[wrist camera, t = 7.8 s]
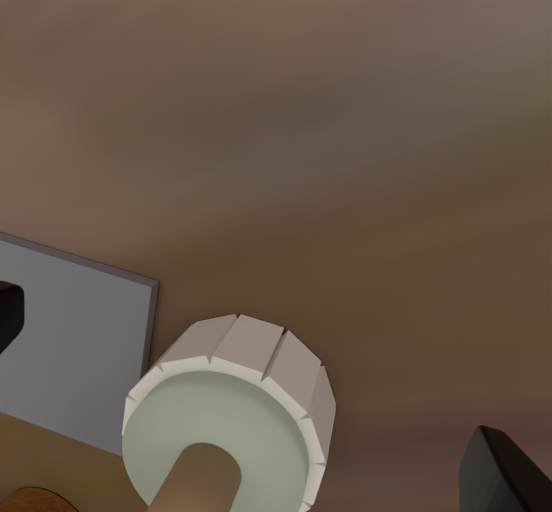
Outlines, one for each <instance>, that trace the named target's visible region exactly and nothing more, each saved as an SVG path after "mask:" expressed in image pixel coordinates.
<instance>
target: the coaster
mask: <svg viewBox="0 0 552 512" xmlns="http://www.w3.org/2000/svg"><path fill="white" fill-rule="evenodd" d="M0 281H6V282H10V283H13V284H16V285H19V286H21V287H22V288H23V290H24V296H25V323H24V327H23V329H22V331H21V332H20V334H19V335H18V336H17V337H16V338H15V339H14V340H13V342H12V343H11V344H10V345H9V346H8V347H7V348H6V349H5V350H4V351H3V353H2V354H1V355H0V412H3V413H5V414H8V415H11V416H13V417H16V418H19V419H21V420H24V421H27V422H30V423H32V424H35V425H38V426H40V427H43V428H46V429H48V430H51V431H54V432H57V433H59V434H62V435H65V436H67V437H70V438H73V439H75V440H78V441H81V442H84V443H86V444H89V445H92V446H94V447H97V448H100V449H102V450H105V451H108V452H111V453H113V454H116V455H119V456H121V457H123V453H122V439H123V436H122V429H123V420H124V411H125V403H126V397H127V396H128V395H129V394H128V393H129V392H130V391H131V390H132V388H133V387H134V386H135V385H136V384H137V383H138V382H139V381H140V379H141V378H142V377H143V376H144V375H145V374H146V373H147V368H148V361H149V353H150V346H151V338H152V331H153V323H154V316H155V308H156V301H157V294H158V286H159V281H157V280H153V279H150V278H147V277H144V276H140V275H137V274H134V273H131V272H127V271H124V270H121V269H118V268H114V267H111V266H108V265H105V264H101V263H98V262H95V261H92V260H88V259H85V258H82V257H79V256H75V255H72V254H69V253H66V252H62V251H59V250H56V249H53V248H49V247H46V246H43V245H40V244H36V243H33V242H30V241H27V240H23V239H20V238H17V237H14V236H11V235H7V234H4V233H1V232H0Z"/></svg>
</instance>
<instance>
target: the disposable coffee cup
mask: <svg viewBox="0 0 552 512" xmlns="http://www.w3.org/2000/svg"><path fill="white" fill-rule="evenodd" d="M0 512H77V511H76V510H75V509H74V508H73V507H72V506H71V505H70V504H69V503H68V502H66V501H65V500H64V499H62V498H61V497H59V496H57V495H56V494H54V493H51V492H49V491H47V490H43V489H39V488H30V487H28V488H23V489H19V490H17V491H15V492H14V493H12V494H11V495H10V496H9V497H8V498H7V499H6V500H4V501H3V502H2V503H1V504H0Z"/></svg>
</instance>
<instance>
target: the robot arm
mask: <svg viewBox="0 0 552 512" xmlns="http://www.w3.org/2000/svg"><path fill="white" fill-rule="evenodd" d="M24 323H25V296H24V290H23V288H22V287H21V286H19V285H16V284H13V283H10V282H6V281H0V355H1V354H2V353H3V351H4V350H5V349H6V348H7V347H8V346H9V345H10V344H11V343H12V342H13V340H14V339H15V338H16V337H17V336H18V335H19V334H20V332H21V331H22V329H23V327H24ZM459 489H460V512H552V481H551V480H550V479H549V478H548V477H547V476H546V475H545V474H544V473H543V472H542V471H541V470H540V469H539V468H538V467H537V465H536V464H535V463H534V462H533V461H532V460H531V459H530V458H529V457H528V456H527V455H526V454H525V453H524V452H523V451H522V450H521V449H520V448H519V447H518V446H517V445H516V444H515V443H514V442H513V441H512V439H511V438H510V437H509V436H508V435H507V434H506V433H505V432H503V431H501V430H497V429H494V428H491V427H487V426H484V425H481V426H478V427H477V428H476V430H475V431H474V433H473V436H472V438H471V440H470V442H469V444H468V447H467V449H466V451H465V453H464V455H463V458H462V460H461V464H460V470H459Z"/></svg>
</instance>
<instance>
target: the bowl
mask: <svg viewBox="0 0 552 512" xmlns="http://www.w3.org/2000/svg"><path fill="white" fill-rule="evenodd" d="M283 330H284V327H281V326H278V325H275V324H271V323H268V322H265V321H262V320H258V319H255V318H252V317H249V316H246V315H242V314H241V315H240V316H239V318H237V315H236V314H232V315H227V316H222V317H217V318H212V319H207V320H202V321H197V322H196V323H195V324H194V325H193V324H192V325H191V326H190V327H189V328H188V329H187V330H186V331H185V332H184V333H183V334H182V335H181V336H180V337H179V338H178V339H177V340H176V341H175V342H174V343H173V344H172V345H171V346H170V347H169V348H168V349H167V350H166V351H165V352H164V354H163V355H162V356H161V357H160V358H159V359H158V360H157V361H156V363H155V364H154V365H153V366H152V367H151V368H150V369H149V370H148V372H147V373H146V374H145V375H144V376H143V377H142V378H141V379H140V381H139V382H138V383H137V384H136V385H135V386H134V387H133V388H132V390H131V391H130V392H129V393H128V394H129V395H128V396H127V397H126V403H125V411H124V420H123V429H122V436H123V434H124V429H125V427H126V424H127V421H128V420H129V418H130V416H131V415H132V413H133V412H134V411H135V409H136V408H137V407H138V406H139V404H140V403H141V402H142V401H143V400H144V398H145V397H146V396H147V395H148V394H149V392H150V391H151V390H152V389H153V388H154V387H156V386H157V385H158V384H159V383H161V382H162V381H164V380H166V379H167V378H170V377H172V376H175V375H177V374H181V373H186V372H192V371H213V372H220V373H225V374H229V375H233V376H236V377H238V378H241V379H244V380H246V381H248V382H250V383H252V384H254V385H256V386H258V387H259V388H261V389H263V390H264V391H266V392H267V393H269V394H270V395H271V396H272V397H273V398H275V399H276V400H277V401H278V402H279V403H280V404H281V405H282V406H283V407H284V408H285V409H286V410H287V411H288V412H289V414H290V415H291V416H292V418H293V419H294V420H295V422H296V424H297V425H298V427H299V429H300V430H301V433H302V435H303V437H304V440H305V443H306V446H307V450H308V457H309V473H308V477H307V482H306V487H305V491H304V496H303V500H302V504H301V507H300V509H299V512H306V511H307V510H309V509H310V508H311V504H312V505H313V504H314V501H315V498H316V495H317V492H318V489H319V486H320V483H321V480H322V477H323V474H324V471H325V468H326V463H327V457H328V451H329V446H330V440H331V434H332V429H333V423H334V417H335V412H336V408H335V407H336V402H335V399H334V396H333V393H332V390H331V386H330V383H329V380H328V377H327V373H326V370H325V367H324V366H320V365H321V360H319V359H318V358H317V357H316V356H315V355H314V354H313V353H312V352H311V351H310V350H309V349H308V348H307V347H306V346H305V345H304V344H303V343H302V342H301V341H300V340H298V339H297V338H296V337H295V336H294V335H293V334H292V333H291V332H290V331H289V330H288V331H287V332H286V333H285V334H284V335H283V336H282V334H283Z"/></svg>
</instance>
